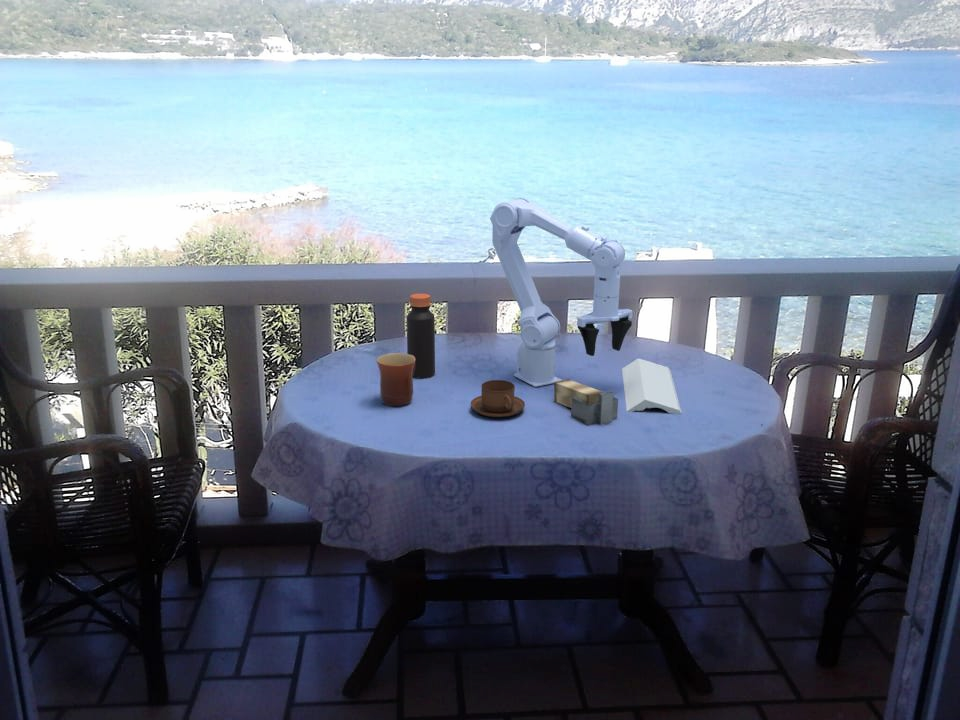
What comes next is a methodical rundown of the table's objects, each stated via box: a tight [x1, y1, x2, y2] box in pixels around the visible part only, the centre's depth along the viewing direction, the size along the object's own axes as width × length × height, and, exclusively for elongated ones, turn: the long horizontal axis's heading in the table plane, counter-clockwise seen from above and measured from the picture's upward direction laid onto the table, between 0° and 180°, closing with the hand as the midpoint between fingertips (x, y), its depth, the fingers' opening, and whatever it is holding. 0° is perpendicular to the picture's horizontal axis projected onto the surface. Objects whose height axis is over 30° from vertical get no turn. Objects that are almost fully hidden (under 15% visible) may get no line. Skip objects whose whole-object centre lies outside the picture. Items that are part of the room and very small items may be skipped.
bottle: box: [406, 293, 436, 379], centre depth 216 cm, size 7×7×20 cm
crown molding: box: [621, 358, 683, 415], centre depth 210 cm, size 29×12×4 cm, turn 174°
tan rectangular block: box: [553, 378, 605, 408], centre depth 198 cm, size 13×4×5 cm, turn 31°
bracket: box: [570, 390, 619, 426], centre depth 192 cm, size 7×8×7 cm
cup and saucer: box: [470, 379, 526, 418], centre depth 196 cm, size 12×12×6 cm
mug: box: [376, 352, 416, 407], centre depth 201 cm, size 12×9×10 cm
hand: (603, 352), depth 205 cm, fingers open, 7 cm apart
